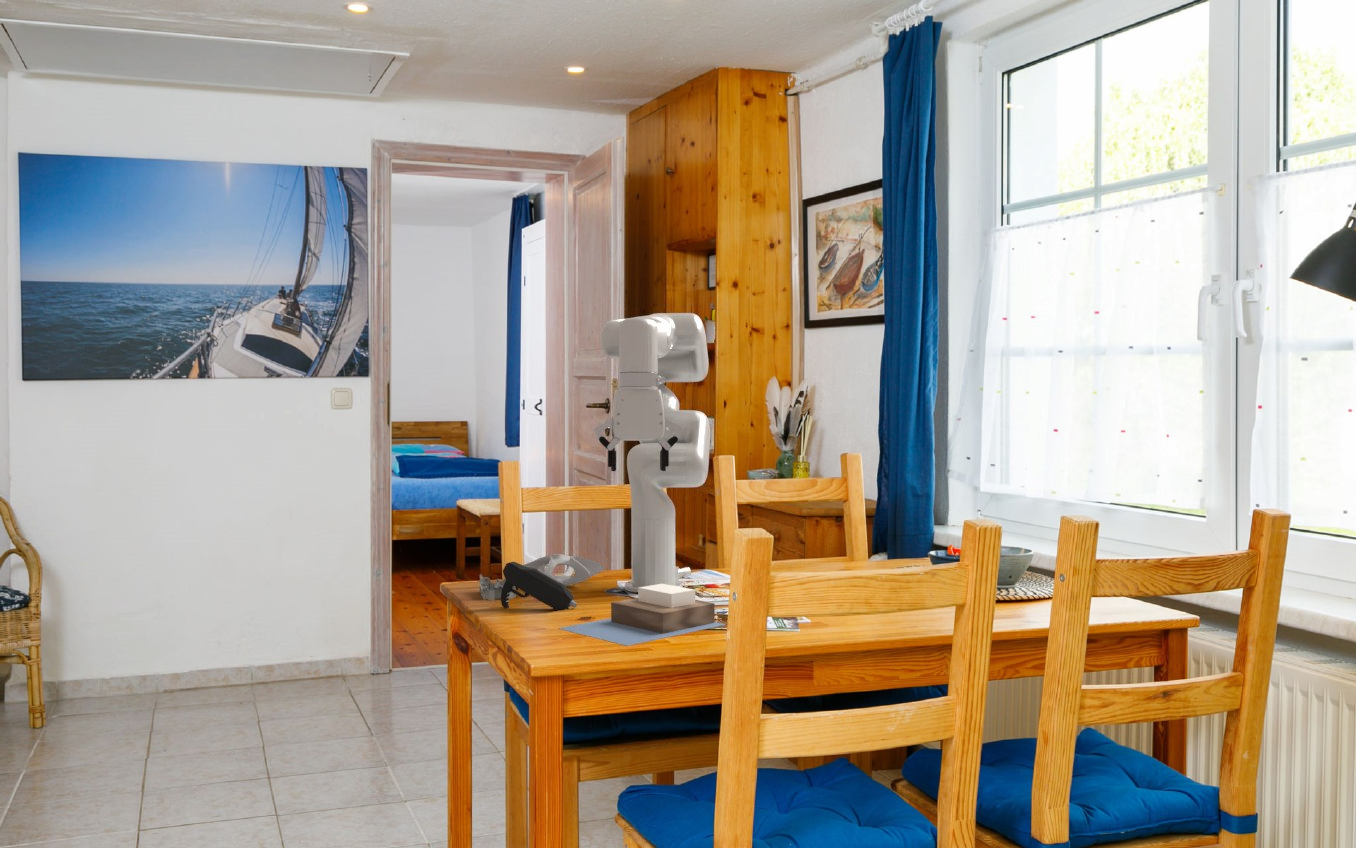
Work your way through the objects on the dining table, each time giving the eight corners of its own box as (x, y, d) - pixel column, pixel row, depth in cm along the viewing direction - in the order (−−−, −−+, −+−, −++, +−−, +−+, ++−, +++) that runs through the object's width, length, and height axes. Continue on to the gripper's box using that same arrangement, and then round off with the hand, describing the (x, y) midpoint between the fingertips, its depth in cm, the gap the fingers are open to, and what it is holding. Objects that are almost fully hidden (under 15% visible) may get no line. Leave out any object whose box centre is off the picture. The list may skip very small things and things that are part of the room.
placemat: (655, 611, 217) (655, 609, 217) (726, 626, 204) (726, 624, 204) (557, 630, 201) (557, 628, 201) (627, 648, 187) (627, 645, 187)
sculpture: (558, 595, 236) (558, 565, 236) (500, 583, 250) (500, 555, 249) (619, 584, 248) (619, 556, 248) (561, 573, 262) (561, 547, 262)
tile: (661, 596, 212) (661, 583, 212) (695, 603, 205) (695, 589, 205) (638, 601, 208) (638, 587, 207) (671, 607, 201) (671, 594, 201)
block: (662, 611, 215) (662, 593, 215) (714, 622, 205) (714, 603, 205) (611, 621, 206) (611, 602, 206) (662, 633, 196) (662, 613, 196)
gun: (557, 640, 218) (579, 595, 217) (487, 599, 221) (509, 555, 220) (561, 636, 221) (583, 593, 220) (492, 596, 224) (514, 553, 222)
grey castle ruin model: (478, 592, 240) (478, 573, 239) (513, 591, 241) (513, 572, 241) (480, 601, 229) (480, 582, 229) (517, 600, 231) (517, 580, 231)
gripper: (679, 383, 221) (679, 469, 221) (592, 382, 218) (592, 470, 219) (685, 382, 214) (685, 471, 214) (595, 381, 211) (595, 472, 211)
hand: (638, 470), depth 216 cm, fingers open, 9 cm apart
